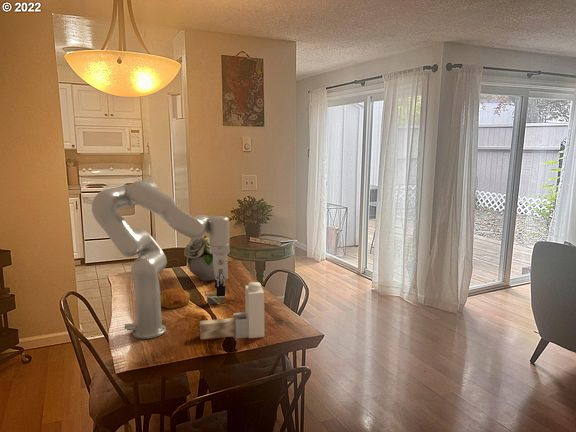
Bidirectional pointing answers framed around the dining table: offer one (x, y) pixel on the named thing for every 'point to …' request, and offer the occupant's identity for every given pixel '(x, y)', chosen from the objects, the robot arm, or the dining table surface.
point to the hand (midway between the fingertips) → (219, 291)
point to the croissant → (174, 298)
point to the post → (251, 313)
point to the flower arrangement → (200, 258)
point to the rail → (218, 328)
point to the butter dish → (214, 298)
